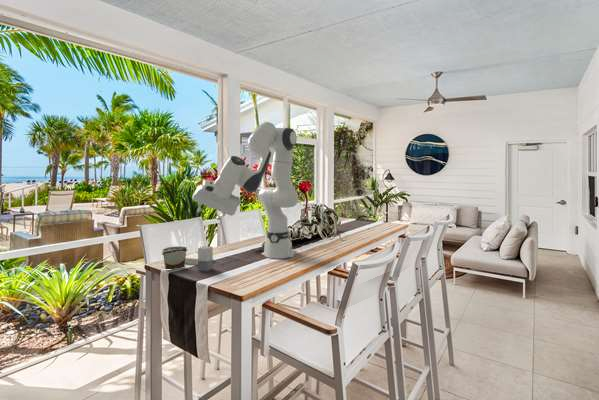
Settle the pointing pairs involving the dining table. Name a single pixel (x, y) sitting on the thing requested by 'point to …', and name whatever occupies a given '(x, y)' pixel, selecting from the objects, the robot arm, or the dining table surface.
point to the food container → (174, 257)
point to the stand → (192, 259)
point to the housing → (205, 258)
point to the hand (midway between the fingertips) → (208, 215)
